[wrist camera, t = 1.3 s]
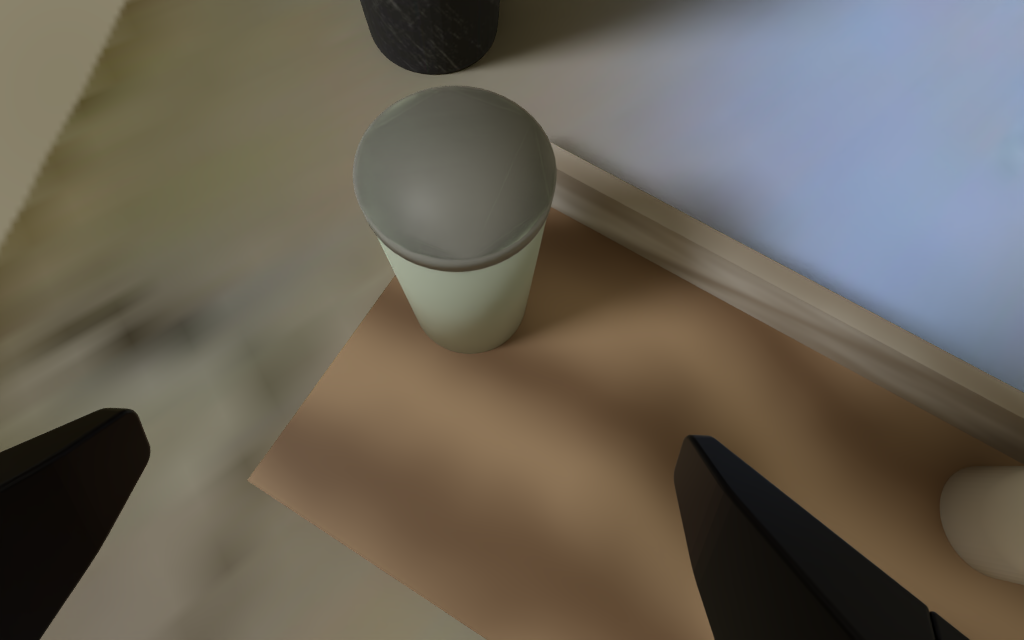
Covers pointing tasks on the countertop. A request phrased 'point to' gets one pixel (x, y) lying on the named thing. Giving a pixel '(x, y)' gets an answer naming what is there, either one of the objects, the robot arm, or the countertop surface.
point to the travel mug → (432, 32)
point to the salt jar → (987, 519)
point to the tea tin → (458, 208)
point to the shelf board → (639, 431)
